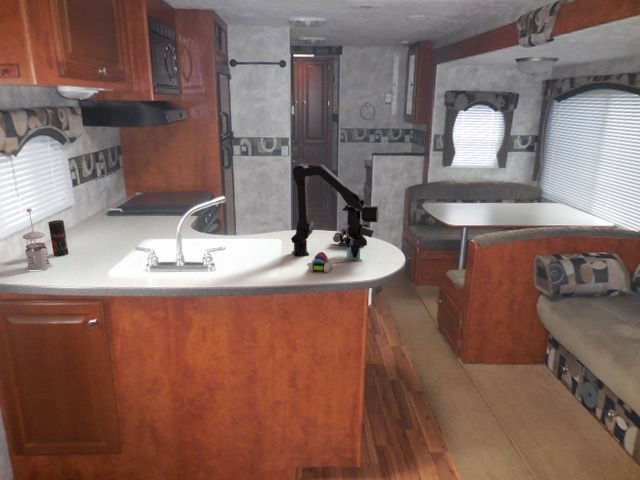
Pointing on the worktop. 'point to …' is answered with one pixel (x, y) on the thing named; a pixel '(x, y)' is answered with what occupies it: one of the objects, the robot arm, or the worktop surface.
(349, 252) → the teal cube
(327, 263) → the multicolored white-lobed toy
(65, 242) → the deodorant
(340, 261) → the brown segmented strip
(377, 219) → the robot arm
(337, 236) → the figurine character
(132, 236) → the worktop surface
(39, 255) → the french press
